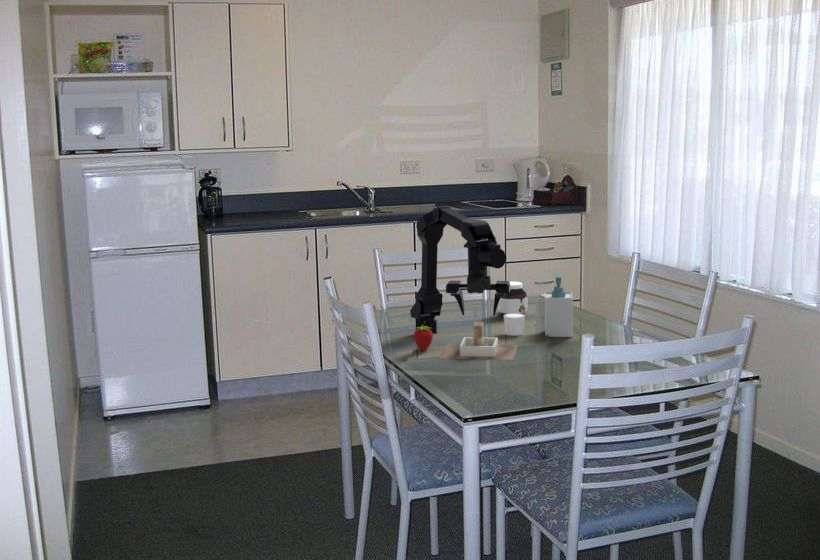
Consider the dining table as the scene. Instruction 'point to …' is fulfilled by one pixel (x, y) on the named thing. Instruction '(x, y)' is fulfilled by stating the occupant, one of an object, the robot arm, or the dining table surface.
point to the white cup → (514, 324)
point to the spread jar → (513, 300)
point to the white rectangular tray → (479, 347)
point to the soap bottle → (558, 311)
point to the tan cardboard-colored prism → (478, 333)
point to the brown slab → (502, 354)
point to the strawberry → (423, 337)
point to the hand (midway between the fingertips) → (478, 315)
